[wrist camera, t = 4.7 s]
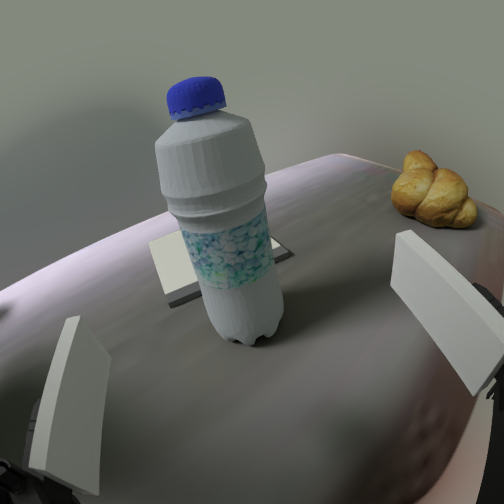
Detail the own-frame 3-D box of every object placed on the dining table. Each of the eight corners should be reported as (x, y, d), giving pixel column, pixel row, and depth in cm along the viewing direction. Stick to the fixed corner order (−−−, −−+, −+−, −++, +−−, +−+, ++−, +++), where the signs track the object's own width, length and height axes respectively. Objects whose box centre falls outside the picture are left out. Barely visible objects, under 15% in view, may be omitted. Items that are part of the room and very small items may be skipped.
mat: (170, 308, 29) (168, 303, 29) (149, 246, 41) (147, 242, 41) (289, 256, 33) (288, 251, 33) (236, 212, 45) (236, 208, 44)
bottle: (284, 293, 28) (246, 68, 17) (292, 348, 23) (246, 63, 12) (216, 302, 29) (153, 90, 18) (210, 358, 23) (115, 98, 12)
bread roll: (481, 221, 32) (490, 168, 27) (457, 250, 28) (468, 186, 24) (412, 193, 41) (413, 144, 37) (377, 213, 38) (377, 157, 34)
